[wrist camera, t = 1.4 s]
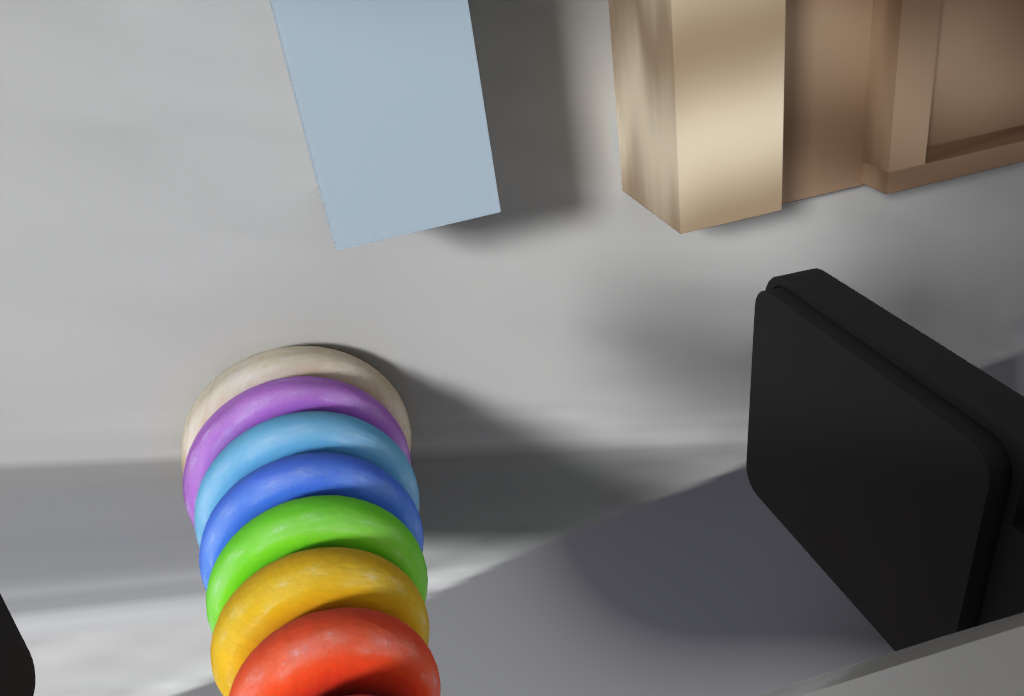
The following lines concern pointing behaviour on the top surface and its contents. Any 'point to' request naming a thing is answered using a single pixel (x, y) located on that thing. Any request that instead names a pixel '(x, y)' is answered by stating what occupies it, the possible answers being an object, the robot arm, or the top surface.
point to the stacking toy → (308, 529)
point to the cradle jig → (899, 92)
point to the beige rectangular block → (700, 107)
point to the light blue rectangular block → (389, 113)
